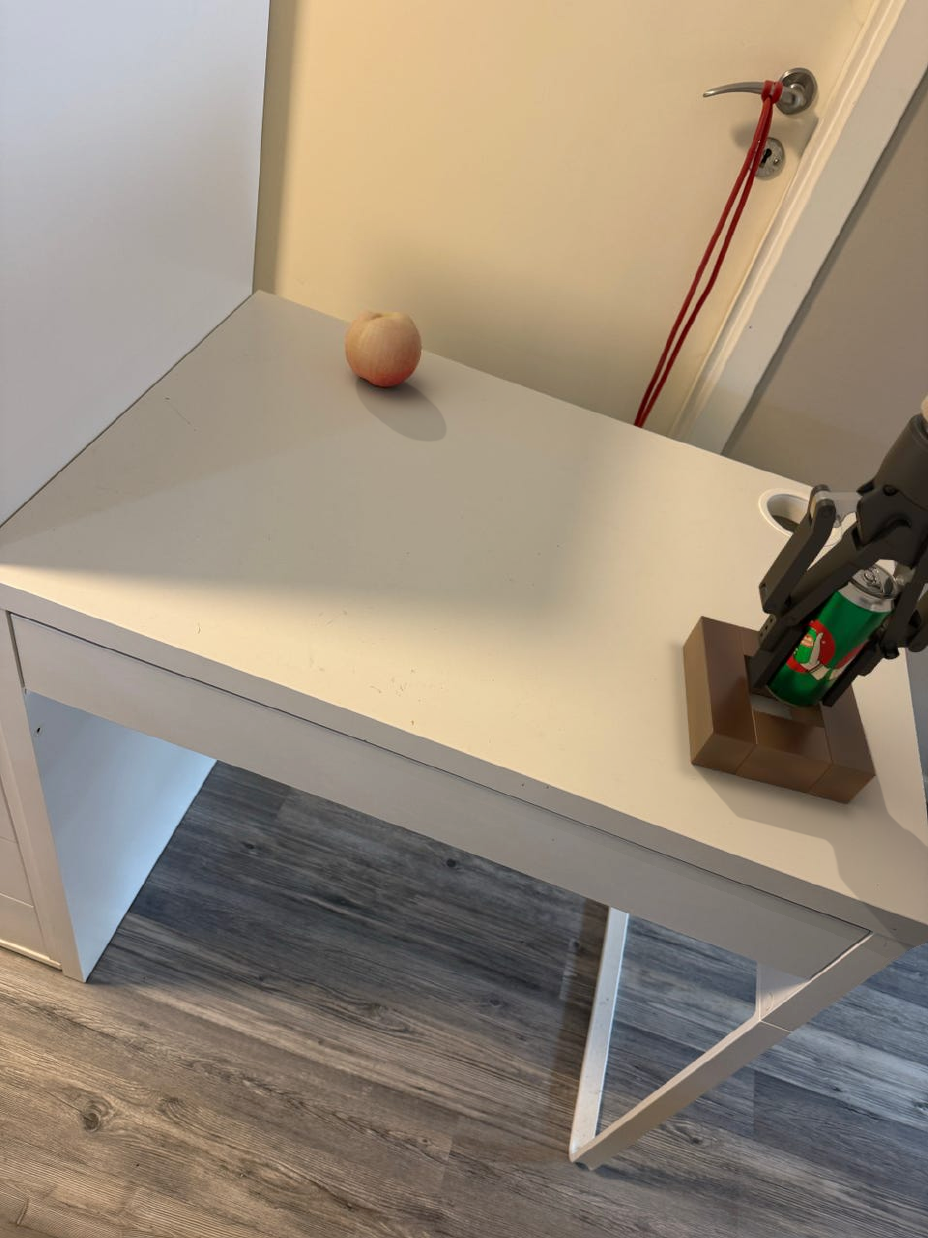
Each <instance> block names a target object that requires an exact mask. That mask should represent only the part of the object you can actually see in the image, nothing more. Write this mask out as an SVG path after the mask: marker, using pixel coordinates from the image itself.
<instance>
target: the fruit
mask: <svg viewBox="0 0 928 1238" xmlns="http://www.w3.org/2000/svg"><path fill="white" fill-rule="evenodd" d="M422 348H423V346H422V339H421V335H420V332H419V329H418V328H417V325H416V324H415V323H414V321H413V319H412V318H411V317H410V316H409V315H407V314H406V313H403V312H399V311H377V312H376V311H375V312H374V311H365V312H362V313H360V314H358V315H357V317H356V318H354V319H353V321H352V322H351V324H350V325H349V327H348V329H347V331H346V334H345V341H344V351H345V358H346V360H347V364H348V366H349V367H350V369H351V371H352V373H354V374H355V375H356V376H358V377H360V378H361V379H365V380H366V381H368V382H369V383H370V384H371V385H374V386H378V387H381V388H382V387H383V388H384V387H385V388H387V387H388V388H389V387H395V386H398V385H400V384H402V383H404V382H405V381H407V379H409V378H410V377H411V376H412V375H413V374H414V372H415V370H416V369H417V367H418V366H419V363H420V361H421V357H422Z"/></svg>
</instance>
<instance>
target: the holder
mask: <svg viewBox="0 0 928 1238" xmlns="http://www.w3.org/2000/svg"><path fill="white" fill-rule="evenodd" d="M758 632H759V630H757V629H753V628H749V627H746V626H742V625H737V624H734V623H730V622H726V621H723V620H718V619H715V618H711V617H707V616H703V615H700V617H699V618H698V620H697V622H696V624H695V626H694V628H692V630H691V632H690V634H689V635H688V637H687V638H686V640H685V642H684V644H683V646H682V651H683V652H682V653H683V667H684V668H683V670H684V682H685V695H686V709H687V711H686V712H687V723H688V725H687V726H688V736H689V751H690V752H689V753H690V763H691V764H692V765H696V766H701V767H704V768H708V769H712V770H715V771H720V772H723V773H727V774H731V775H735V776H738V777H743V778H746V779H750V780H755V781H759V782H762V783H765V784H769V785H774V786H777V787H781V788H786V789H788V790H793V791H797V792H801V793H805V794H809V795H813V796H817V797H820V798H823V799H824V798H825V799H827V800H828V799H829V800H832V801H836V802H840V803H844V804H850V802H852V800H853V799H854V798H856V796H857V795H858V794H859V793H860V792H861V791H863V789H864V788H865V787H866V786H867V785H868V784H869V783H870V782H872V780H873V779H874V778H875V777H876V776H877V774H876V770H875V766H874V763H873V758H872V754H871V752H870V748H869V744H868V740H867V736H866V733H865V729H864V725H863V720H862V717H861V714H860V710H859V706H858V702H857V698H856V694H855V691H854V687H853V682H852V683H851V685H850V686H849V687H848V688H847V689H846V691H845V692H844V693H843V694H842V695H841V697H840V698H839V699H838V700H837V702H836V703H835V704H834V705H833V706H832V708H831V707H827V706H823V705H822V701H820V702H819V703H818V704H817V705H815V706H812V707H794V706H790V705H789V709H790V713H791V718H792V719H790V718H786V717H783V716H779V715H775V714H772V713H767V712H764V711H760V710H756V709H752V702H751V695H750V693H753V694H756V695H760V696H764V697H767V698H772V699H775V700H778V699H777V698H776V697H775V696H773V695H772V694H771V693H770V691H769V690H768V689H767V687H766V685H765V686H764V687H763V689H758V688H754V687H753V685H752V679H751V673H750V666H749V662H750V660H751V659H752V657H753V656H754V655H755V653H756V652H757V650H758V649H759V647H760V646H759V641H758Z"/></svg>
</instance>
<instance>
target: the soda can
mask: <svg viewBox="0 0 928 1238" xmlns="http://www.w3.org/2000/svg"><path fill="white" fill-rule="evenodd" d="M899 593H900V591H899V588H898V586H897V583H896V580H895V578H894V577H893V574H892V573H890V572H889V571H888V570H887V569H885V567H883V566H881V565H880V564H878V563H877V562H876V563H875V564H874V565H873V566H872V567H870V568H869V569H868V570H860V571H859V572H858V573H856V574H855V575H854V576H853V577H852V578H850V579H849V580H848V581H847V582H846V583H845V584H843V585H842V586H841V587H840V588H839V589H837V590H836V591H835V592H834V593H833V594H832V595H830V596H829V597H828V598H827V599H826V600H825V601H823V602H822V603H821V604H820V605H819V606H817V607H816V608H815V609H814V610H813V611H812V612H810V613H809V614H808V615H807V616H806V617H804V618H803V619H802V620H801V621H800V623H801V627H802V631H803V633H802V635H801V636H800V637H799V639H798V640H797V642H796V643H795V644H794V646H793V647H792V648H791V650H790V651H789V653H788V654H787V655H786V657H785V658H784V660H783V661H782V662H781V664H780V665H779V666H778V668H777V669H776V671H775V672H774V673H773V675H772V676H771V678H770V679H769V680H768V682H767V683H766V684H765V685H766V687H767V689H768V690H769V691H770V693H771V694H772V695H773V696H775V697H776V698H777V699H776V700H778V701H780V702H781V703H783V704H785V705H788V706H789V707H790V706H794V707H812V706H815V705H817V704H818V703H819V702H820V701H821V700H822V699H823V697H824V696H825V695H826V694H827V693H828V691H829V690H830V689H831V688H832V686H833V685H834V684H835V683H836V681H837V680H838V679H839V678H840V676H841V675H842V674H843V673H844V671H845V670H846V669H847V668H848V667H849V665H850V664H851V663H852V662H853V660H854V659H855V658H856V657H857V655H858V654H859V653H860V652H861V650H862V649H863V648H864V647H865V646H866V644H867V643H868V642H869V641H870V639H871V638H872V637H873V636H874V634H875V633H876V632H877V631H878V629H879V628H880V627H881V626H882V624H883V623H884V622H885V621H886V620H887V618H888V617H889V616H890V615H891V613H892V612H893V611H894V610H895V608H896V598H897V597H898V596H899Z"/></svg>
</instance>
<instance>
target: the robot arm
mask: <svg viewBox="0 0 928 1238" xmlns="http://www.w3.org/2000/svg"><path fill="white" fill-rule="evenodd" d="M920 411H921V412H920V413H918V414H914V415H913V416H912V417H911V418H910V419H909V421H907V422H906V424H905V426H904V428H903V429H902V431H901V432H900V433H899V434H898V436H897V438H896V440H895V441H894V443H893V444H892V446H891V447H890V448H889V450H888V451H887V452H886V454H885V456H884V457H883V459H882V461H881V464H880V466H879V468H878V470H877V472H876V473H875V475H874V476H873V477H872V478H870V479H869V480H867V481H866V482H864V483H863V484H861V485H860V486H858V487H857V489H856V490H855V491H838V492H837V491H834V492H833V491H832V492H831V489H830V487H829V486H828V485H827V484H823V483H821V484H817V485H814V486H813V488H812V489H811V490H810V494H809V498H808V504H807V510H806V512H805V514H804V515H803V517H802V519H801V520H800V522H799V523H798V525H797V526H796V528H795V529H794V531H793V533H792V534H791V535H790V537H789V538H788V540H787V541H786V543H785V544H784V546H783V548H782V549H781V551H780V552H779V554H778V555H777V557H776V558H775V560H774V561H773V563H772V565H771V566H770V567H769V569H768V571H767V572H766V573H765V575H764V576H763V578H762V579H761V581H760V583H759V584H758V587H757V588H758V593H759V599H760V605H761V609H762V612H763V613H764V614H766V615H768V617H767V618H766V619H765V621H764V623H763V624H762V626H761V627H760V629H759V630H758V631H759V632H758V641H759V646H760V647H759V649H758V650H757V652H756V653H755V655H754V656H753V657H752V659H751V660H750V662H749V666H750V673H751V679H752V685H753V687H754V688H758V689H763V687H764V686H765V684H766V683H767V682H768V680H769V679H770V678H771V676H772V675H773V673H774V672H775V671H776V669H777V668H778V666H779V665H780V664H781V662H782V661H783V660H784V658H785V657H786V655H787V654H788V653H789V651H790V650H791V648H792V647H793V646H794V644H795V643H796V642H797V640H798V639H799V637H800V636H801V635H802V633H803V631H802V627H801V623H800V621H801V620H802V619H803V618H804V617H806V616H807V615H808V614H809V613H810V612H812V611H813V610H814V609H815V608H816V607H817V606H819V605H820V604H821V603H822V602H823V601H825V600H826V599H827V598H828V597H829V596H830V595H832V594H833V593H834V592H835V591H836V590H837V589H839V588H840V587H841V586H842V585H843V584H845V583H846V582H847V581H848V580H849V579H850V578H852V577H853V576H854V575H855V574H856V573H858V572H859V571H860V570H868V569H869V568H870V567H872V566H873V565H874V564H875V563H876V564H877V563H878V562H879V561H880V560H881V561H894V562H895V563H896V565H895V568H894V571H893V573H892V576H893V577H894V578H895V580H896V583H897V586H898V588H899V591H900V593H899V596H898V597H897V598H896V608H895V610H894V611H893V612H892V613H891V615H890V616H889V617H888V618H887V620H886V621H885V622H884V623H883V624H882V626H881V627H880V628H879V629H878V631H877V632H876V633H875V634H874V636H873V637H872V638H871V639H870V641H869V642H868V643H867V644H866V646H865V647H864V648H863V649H862V650H861V652H860V653H859V654H858V655H857V657H856V658H855V659H854V660H853V662H852V663H851V664H850V665H849V667H848V668H847V669H846V670H845V671H844V673H843V674H842V675H841V676H840V678H839V679H838V680H837V681H836V683H835V684H834V685H833V686H832V688H831V689H830V690H829V691H828V693H827V694H826V695H825V696H824V697H823V699H822V700H821V701H822V705H823V706H827V707H831V708H832V706H833V705H834V704H835V703H836V702H837V700H838V699H839V698H840V697H841V695H842V694H843V693H844V692H845V691H846V689H847V688H848V687H849V686H850V685H851V683H852V684H853V682H854V681H855V680H856V679H857V678H858V676H860V677H864V678H865V677H866V676H869V675H870V674H871V673H872V672H873V671H874V670H875V668H876V667H877V666H878V665H879V663H880V662H881V661H882V660H883V659H884V660H888V661H890V660H891V661H892V660H896V659H897V658H899V656H900V655H901V653H900V651H899V649H908V651H909V652H911V653H921V652H923V651H924V650H926V648H927V647H928V589H927V590H926V591H925V592H924V593H923V590H924V588H925V586H926V584H927V585H928V393H927V394H926V395H925V397H924V399H923V400H922V402H921V404H920ZM851 514H855V521H854V522H853V523H852V524H851V525H850V526H849V527H847V528H846V529H845V530H844V531H843V532H842V534H841V538H840V540H839V541H838V542H837V543H836V544H835V545H834V546H833V547H832V548H830V549H829V550H828V551H827V552H826V553H824V555H822V556H821V557H820V558H819V559H818V560H817V561H815V560H816V558H817V557H818V556H819V554H820V553H821V551H822V550H823V548H824V547H825V546H826V544H827V542H828V540H829V539H830V537H831V535H832V532H833V530H834V529H839V528H841V527H842V523H843V522H844V521H845V518H846V517H847V516H848V515H851ZM814 561H815V563H814ZM811 565H812V566H811ZM922 593H923V594H922Z"/></svg>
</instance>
